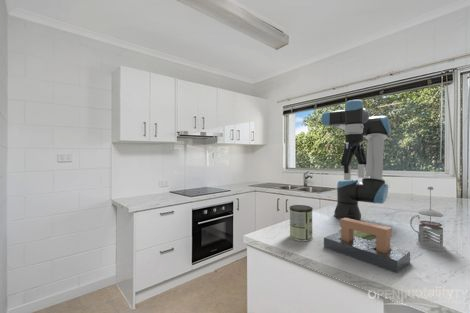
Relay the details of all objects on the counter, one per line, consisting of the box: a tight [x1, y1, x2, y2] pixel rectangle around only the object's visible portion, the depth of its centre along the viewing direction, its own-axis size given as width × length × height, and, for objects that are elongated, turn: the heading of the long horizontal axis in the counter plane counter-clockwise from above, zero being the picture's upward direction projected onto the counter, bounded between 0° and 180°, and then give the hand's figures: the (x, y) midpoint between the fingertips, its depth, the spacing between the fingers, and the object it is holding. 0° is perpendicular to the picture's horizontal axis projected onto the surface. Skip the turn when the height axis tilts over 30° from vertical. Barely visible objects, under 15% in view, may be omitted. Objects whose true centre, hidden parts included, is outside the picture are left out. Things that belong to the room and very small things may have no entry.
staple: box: [339, 218, 393, 254], centre depth 87 cm, size 17×4×12 cm, turn 36°
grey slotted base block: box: [323, 231, 411, 274], centre depth 87 cm, size 26×12×4 cm, turn 36°
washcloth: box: [338, 229, 376, 241], centre depth 110 cm, size 13×18×3 cm
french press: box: [409, 186, 447, 252], centre depth 96 cm, size 10×12×25 cm
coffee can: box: [289, 204, 314, 242], centre depth 106 cm, size 10×10×14 cm
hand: (354, 179), depth 107 cm, fingers open, 13 cm apart
